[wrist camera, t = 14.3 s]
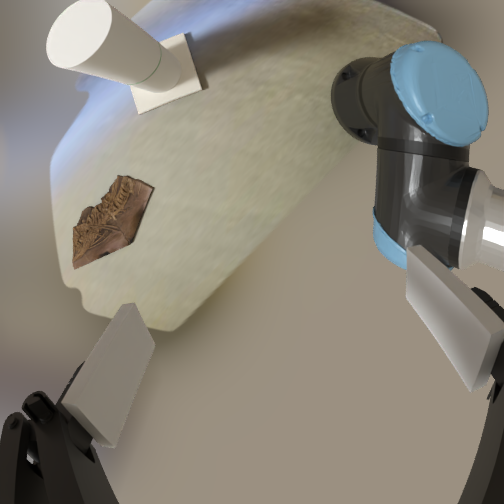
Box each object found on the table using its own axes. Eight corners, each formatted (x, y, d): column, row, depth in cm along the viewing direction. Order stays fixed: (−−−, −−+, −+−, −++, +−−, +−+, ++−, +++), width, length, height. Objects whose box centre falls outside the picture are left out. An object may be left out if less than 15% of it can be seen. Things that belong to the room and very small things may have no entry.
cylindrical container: (155, 46, 37) (75, -9, 14) (190, 64, 39) (127, 7, 16) (132, 82, 40) (35, 56, 17) (165, 100, 41) (80, 79, 18)
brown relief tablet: (134, 161, 46) (131, 161, 45) (171, 210, 50) (170, 211, 49) (55, 242, 52) (53, 244, 51) (87, 282, 56) (85, 284, 55)
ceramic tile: (184, 34, 37) (183, 32, 36) (202, 90, 41) (201, 89, 41) (125, 60, 39) (122, 59, 38) (140, 114, 43) (138, 114, 42)
